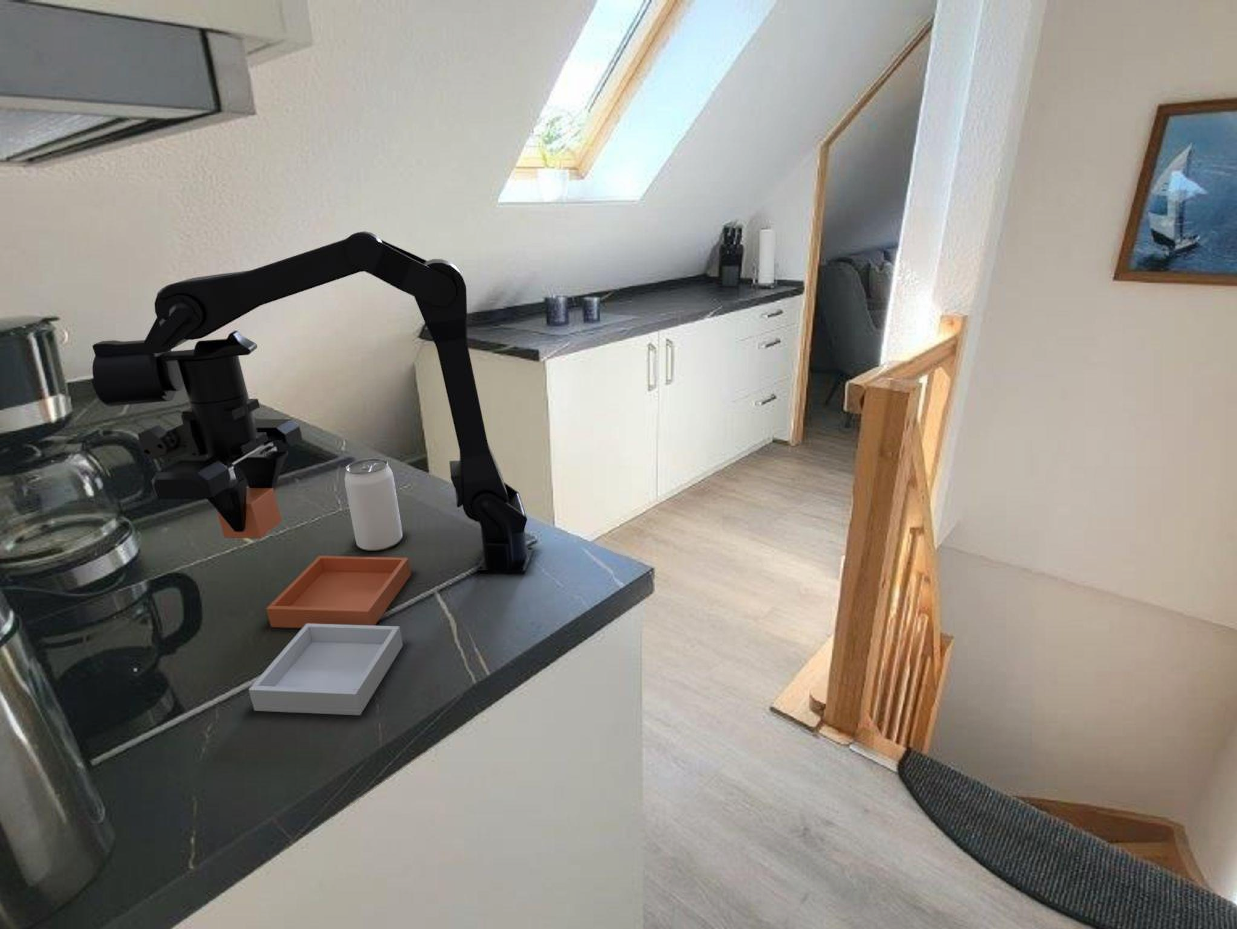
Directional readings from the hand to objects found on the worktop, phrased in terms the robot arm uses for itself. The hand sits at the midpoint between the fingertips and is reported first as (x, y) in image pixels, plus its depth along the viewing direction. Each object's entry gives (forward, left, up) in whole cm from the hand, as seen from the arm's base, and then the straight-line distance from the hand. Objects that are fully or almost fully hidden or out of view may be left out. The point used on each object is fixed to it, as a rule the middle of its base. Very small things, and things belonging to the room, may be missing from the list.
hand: (252, 521), depth 78 cm
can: (-15, +8, -11) cm, 20 cm away
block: (0, 0, -1) cm, 1 cm away
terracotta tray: (0, +10, -11) cm, 14 cm away
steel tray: (+14, +15, -11) cm, 23 cm away
